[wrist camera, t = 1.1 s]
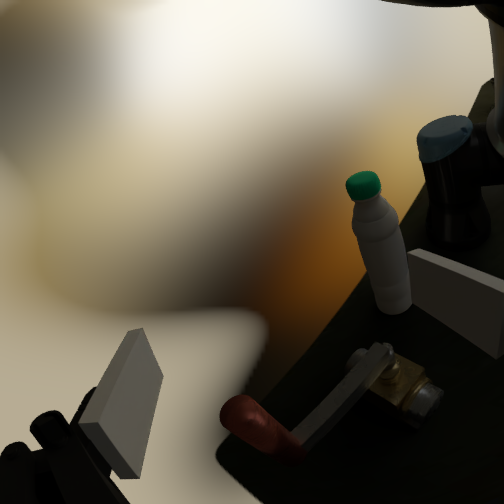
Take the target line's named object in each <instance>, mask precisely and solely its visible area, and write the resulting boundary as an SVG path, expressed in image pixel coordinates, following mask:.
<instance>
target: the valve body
mask: <svg viewBox="0 0 504 504" xmlns="http://www.w3.org/2000/svg"><path fill="white" fill-rule="evenodd" d="M367 351H368V350H366V349H365V348H360V349H358V350H357V351H355V352H354V353H353V354H352V355H351V357H350V358H349V360H348V361H347V363H346V366H345V369H344V375H345V376H346V375H347V374H348V373H349V372H350V371H351V370H352V369H353V367H354V366H355V365H356V364H357V363H358V362H359V360H360V359H361V358H362V357H363V356H364V355H365V353H366V352H367ZM394 355H395V360H396V364H395V366H394V367H393V368H392V369H391V370H388V371H382V373H381V374H380V375H379V376H378V378H377V379H376V380H375V381H374V382H373V384H372V385H371V386H370V387H369V388H368V389H367V391H366V392H365V393H364V394H363V395H362V396H361V397H362V398H364V399H365V400H367V401H369V402H370V403H372V404H373V405H375V406H376V407H378V408H379V409H381V410H382V411H384V412H386V413H387V414H389V415H390V416H392V417H394V418H395V419H397V420H398V421H401V423H403V424H404V425H406V426H408V427H409V428H411V429H412V430H414V431H416V432H417V433H418V432H419V430H420V429H421V428H422V426H423V425H424V424H425V423H426V422H427V421H428V420H429V419H430V417H431V416H432V415H433V413H434V412H435V410H436V409H437V407H438V405H439V404H440V402H441V399H442V397H443V394H444V391H443V390H441V389H439V388H438V387H436V386H434V385H432V380H431V379H429V378H427V377H425V368H424V367H422V366H420V365H418V364H416V363H414V362H412V361H410V360H408V359H406V358H404V357H402V356H400V355H398V354H396V353H394Z"/></svg>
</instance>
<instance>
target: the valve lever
mask: <svg viewBox="0 0 504 504" xmlns="http://www.w3.org/2000/svg"><path fill="white" fill-rule="evenodd" d="M395 364H396V360H395V355H394V351H393V347H392V345H391V344H389V343H381V344H379V343H377V342H375V343H374V344H373V345H372V346H371V347H370V349H369V350H368V351H367V352H366V353H365V355H364V356H363V357H362V358H361V359H360V360H359V362H358V363H357V364H356V365H355V366H354V367H353V369H352V370H351V371H350V372H349V373H348V374H347V375H346V376H345V378H344V379H343V380H342V381H341V382H340V383H339V384H338V385H337V386H336V387H335V388H334V389H333V391H332V392H331V393H330V394H329V395H328V396H327V397H326V398H325V399H324V400H323V401H322V402H321V403H320V404H319V405H318V406H317V407H316V408H315V409H314V410H313V411H312V412H311V413H310V414H309V415H308V416H307V417H306V418H305V419H304V420H303V421H302V422H301V423H300V424H299V425H298V426H297V427H296V428H295V429H294V430H293V431H291V432H289V431H288V430H287V429H286V428H284V427H283V426H282V425H281V424H280V423H279V422H278V421H276V420H275V419H274V418H273V417H272V416H271V415H270V414H269V413H268V412H266V411H265V410H264V409H263V408H262V407H261V406H260V405H259V404H258V403H256V402H255V401H254V400H253V399H252V398H251V397H250V396H247V395H237V396H234V397H232V398H231V399H229V400H228V401H227V402H226V403H225V404H224V405H223V407H222V408H221V411H220V422H221V424H222V425H223V427H225V428H226V429H228V430H229V431H230V432H232V433H233V434H235V435H236V436H238V437H239V438H241V439H242V440H244V441H245V442H247V443H248V444H250V445H252V446H253V447H255V448H256V449H258V450H259V451H261V452H263V453H264V454H266V455H268V456H269V457H271V458H272V459H274V460H276V461H278V462H279V463H281V464H283V465H284V466H287V467H295V466H298V465H300V464H301V463H302V462H303V461H304V460H305V458H306V456H307V452H308V451H309V450H310V449H311V448H312V447H313V446H315V445H316V444H317V443H318V442H319V441H320V440H321V439H322V438H323V437H324V436H325V435H326V434H327V433H328V432H329V431H330V430H331V429H332V428H333V427H334V426H335V425H336V424H337V423H338V421H339V420H340V419H341V418H342V417H343V416H344V415H345V414H346V413H347V412H348V411H349V410H350V409H351V408H352V406H353V405H354V404H355V403H356V402H357V401H358V400H359V399H360V397H361V396H362V395H363V394H364V393H365V392H366V391H367V389H368V388H369V387H370V386H371V385H372V384H373V382H374V381H375V380H376V379H377V378H378V376H379V375H380V374H381V373H382V371H388V370H391V369H392V368H393V367H394V366H395Z"/></svg>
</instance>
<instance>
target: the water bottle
mask: <svg viewBox="0 0 504 504" xmlns="http://www.w3.org/2000/svg"><path fill="white" fill-rule="evenodd" d="M346 189H347V192H348V194H349V196H350V198H351V200H352V201H354V202H355V206H354V209H353V218H352V229H353V232H354V234H355V236H356V237H357V241H358V245H359V249H360V252H361V255H362V258H363V261H364V264H365V267H366V270H367V272H368V275H369V277H370V282H371V286H372V289H373V292H374V295H375V300H376V304H377V306H378V308H379V310H380V311H382V312H383V313H385V314H389V315H396V314H400V313H403V312H404V311H406V310H407V309H408V308H409V307H410V306H411V305H412V302H411V289H410V276H409V269H408V264H407V256H406V251H405V246H404V241H403V237H402V234H401V230H400V228H399V225H398V222H399V221H398V216H397V213H396V211H395V210H394V208H393V207H392V206H391V205H390V204H389V203H388V202H387V201H386V199H385V198H383V197H382V196H381V195H380V193H381V184H380V180H379V178H378V176H377V175H376V174H375V173H374V172H372V171H362V172H358V173H356V174H354V175H352V176H351V177H350V178H348V180H347V181H346Z"/></svg>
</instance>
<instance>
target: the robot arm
mask: <svg viewBox="0 0 504 504" xmlns="http://www.w3.org/2000/svg"><path fill="white" fill-rule="evenodd" d="M382 1H386V2H392V3H400V4H407V5H415V6H425V7H461V6H470V5H475V7H476V8H477V9H478V10H479V12H480V13H481V14H482V15H483V16H484V17H486V18H487V19H488V21H489V28H490V35H491V44H492V53H493V65H494V84H495V107H494V108H493V109H492V110H491V112H490V113H489V116H488V118H487V122H484V123H477V124H472V122H471V121H470V119H469V118H468V117H466V116H462V115H459V116H456V115H451V116H446V117H442V118H439V119H437V120H434V121H432V122H430V123H428V124H427V125H426V126H424V127H423V128H422V129H421V130H420V131H419V133H418V135H417V146H418V151H419V159H420V161H421V163H422V167H423V171H424V176H425V181H426V186H427V191H428V196H429V205H428V212H427V217H426V229H427V234H428V237H429V239H430V240H431V241H432V242H433V243H434V244H435V245H436V246H438V247H440V248H442V249H445V250H450V251H465V250H470V249H473V248H475V247H477V246H479V245H481V244H482V243H483V242H484V241H485V240H486V239H487V238H488V236H489V234H490V231H491V219H490V215H489V212H488V209H487V207H486V204H485V202H484V200H483V197H482V194H481V186H490V185H501V184H504V0H382ZM407 256H408V265H409V276H410V289H411V302H412V303H413V304H415V305H416V306H418V307H419V308H421V309H423V310H424V311H426V312H427V313H429V314H430V315H432V316H433V317H435V318H436V319H438V320H439V321H441V322H442V323H444V324H445V325H447V326H448V327H450V328H451V329H453V330H454V331H456V332H457V333H459V334H460V335H462V336H463V337H465V338H466V339H467V340H469V341H470V342H472V343H473V344H475V345H476V346H478V347H479V348H481V349H482V350H483V351H485V352H486V353H488V354H489V355H491V356H492V357H493V358H495V359H498V358H499V357H501V356H502V355H503V354H504V280H502V279H501V278H498V277H497V278H496V276H493V275H491V274H488V273H484V272H481V271H479V270H476V269H474V268H471V267H468V266H466V265H463V264H460V263H458V262H455V261H452V260H450V259H447V258H444V257H442V256H439V255H436V254H433V253H431V252H428V251H425V250H422V249H416V250H413V251H410V252H407ZM162 379H163V374H162V372H161V369H160V367H159V366H158V363H157V361H156V358H155V356H154V355H153V351H152V349H151V347H150V345H149V342H148V340H147V338H146V335H145V333H144V330H143V328H140V329H135V330H131V331H128V332H127V334H126V336H125V337H124V339H123V341H122V343H121V344H120V346H119V348H118V350H117V351H116V353H115V355H114V357H113V359H112V360H111V362H110V364H109V366H108V368H107V369H106V371H105V373H104V375H103V377H102V378H101V380H100V382H99V384H98V386H97V387H93V388H92V389H91V390H90V391H89V392H88V393H87V394H86V395H85V397H84V399H83V400H82V402H81V405H80V406H79V408H78V411H77V412H76V413H75V415H74V417H73V419H72V421H71V422H70V424H68V422H67V421H66V419H65V418H64V416H63V415H62V414H61V413H60V412H59V411H56V410H53V411H48V412H45V413H42V414H41V415H39V416H38V417H36V419H35V420H34V421H33V422H32V424H31V426H30V432H31V433H32V434H33V436H34V437H35V438H36V440H37V441H38V443H39V444H40V445H41V447H42V448H43V449H40V450H36V451H31V450H30V449H29V448H28V447H27V445H26V444H25V443H23V442H14V443H12V444H9V445H8V446H6V447H5V449H4V450H3V452H2V453H1V456H0V504H130V503H129V502H128V500H127V499H126V498H125V496H124V495H123V494H122V492H121V491H120V490H119V489H118V487H117V486H116V484H115V483H114V482H113V481H112V480H111V479H110V474H111V470H113V471H114V472H115V473H116V474H117V476H118V477H119V478H120V479H140V475H141V470H142V466H143V461H144V456H145V451H146V447H147V443H148V438H149V434H150V429H151V425H152V421H153V417H154V412H155V408H156V404H157V400H158V396H159V392H160V388H161V384H162Z"/></svg>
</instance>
